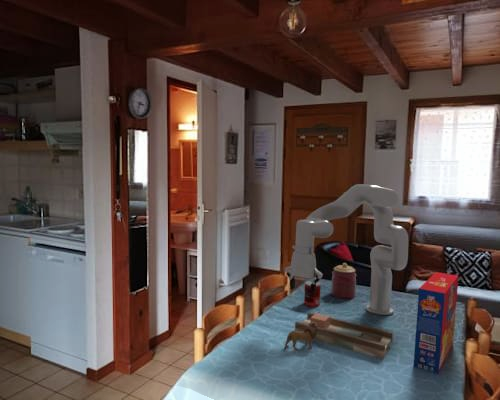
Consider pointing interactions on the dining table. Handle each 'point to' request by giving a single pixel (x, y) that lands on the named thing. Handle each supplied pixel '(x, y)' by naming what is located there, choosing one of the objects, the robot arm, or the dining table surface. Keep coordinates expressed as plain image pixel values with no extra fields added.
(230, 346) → the dining table surface
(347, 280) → the canister
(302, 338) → the lion figurine
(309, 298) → the canned food
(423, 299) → the pasta box
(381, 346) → the channel board
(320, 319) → the block
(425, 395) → the dining table surface
